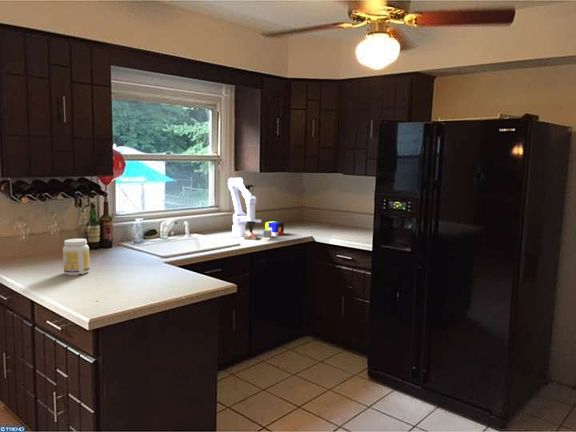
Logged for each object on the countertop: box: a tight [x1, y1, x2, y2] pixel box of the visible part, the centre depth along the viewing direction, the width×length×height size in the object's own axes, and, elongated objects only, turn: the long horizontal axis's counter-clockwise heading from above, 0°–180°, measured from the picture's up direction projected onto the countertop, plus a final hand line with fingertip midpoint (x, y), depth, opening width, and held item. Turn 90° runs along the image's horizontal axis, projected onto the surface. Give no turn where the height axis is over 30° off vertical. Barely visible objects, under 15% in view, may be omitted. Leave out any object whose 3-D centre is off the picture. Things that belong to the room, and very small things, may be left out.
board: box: [259, 237, 271, 242], centre depth 338 cm, size 8×20×1 cm, turn 172°
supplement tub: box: [62, 238, 91, 276], centre depth 237 cm, size 12×12×17 cm
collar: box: [243, 233, 259, 241], centre depth 338 cm, size 8×8×3 cm
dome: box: [247, 231, 256, 236], centre depth 338 cm, size 5×5×4 cm
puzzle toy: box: [264, 220, 285, 237], centre depth 357 cm, size 10×10×10 cm
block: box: [262, 229, 272, 239], centre depth 345 cm, size 5×5×5 cm
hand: (251, 232), depth 338 cm, fingers closed, pressing on dome
